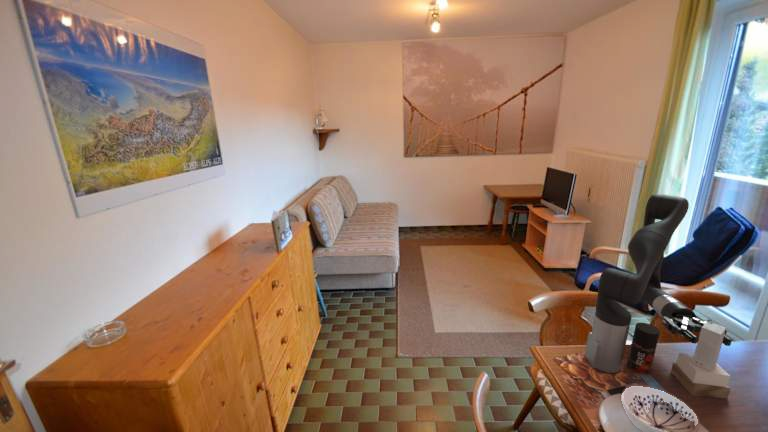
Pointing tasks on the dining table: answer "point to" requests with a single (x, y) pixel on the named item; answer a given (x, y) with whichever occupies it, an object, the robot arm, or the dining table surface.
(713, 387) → the walnut block
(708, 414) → the dining table surface
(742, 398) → the dining table surface
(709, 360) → the skincare box
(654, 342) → the deodorant
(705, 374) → the offwhite block
